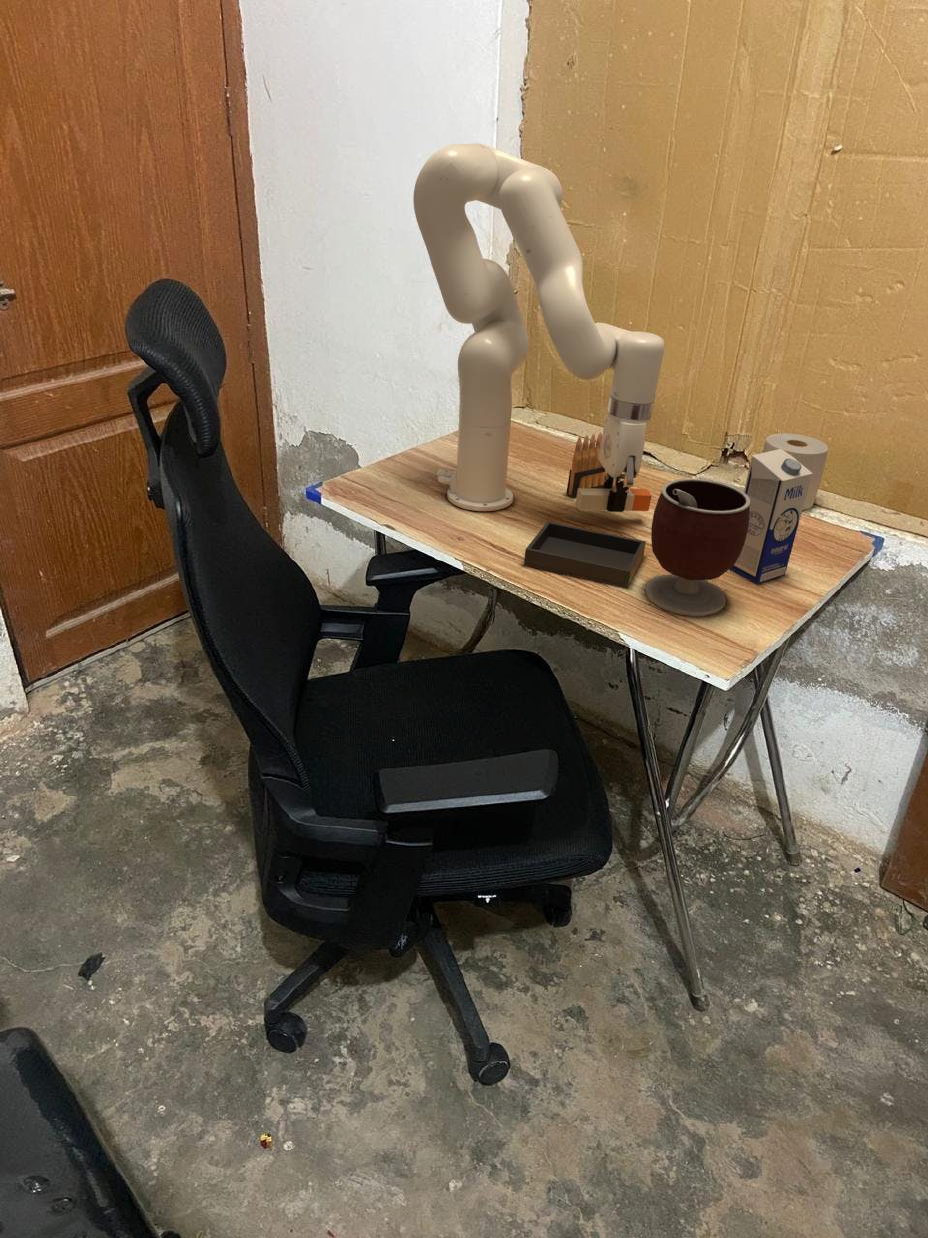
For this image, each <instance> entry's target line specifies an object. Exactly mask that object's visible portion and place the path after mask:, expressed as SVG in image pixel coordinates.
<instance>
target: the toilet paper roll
mask: <svg viewBox="0 0 928 1238" xmlns="http://www.w3.org/2000/svg"><path fill="white" fill-rule="evenodd" d="M778 449H782V450H783V451H785V452H786V453H788V454H790V455H791V456H792V457H794V458H795V459H796V460H797V461H798V462H800V463H801V464H802V465H803V466H804V467H806V468H807V469H808V470H809V471H810V472H812V473H813V474H812V476H811V480H810V483H809V487H808V491H807V495H806V498H805V502H804V506H803V510H802V511H805V510H809V509H810V508H812V507H813V506H814V503H815V500H816V497H817V495H818V491H819V488H820V485H821V482H822V478H823V474H824V469H825V466H826V462H827V457H828V453H829V446H828V445H827V444H826V442H824V441H822V440H819V439H817V438H814V437H811V436H807V435H802V434H797V433H795V434H794V433H785V432H784V433H773V434H770V435H768V436H767V437H766V438H765V441H764V445H763V448H762V451H761V453H765V452H769V451H774V450H778Z"/></svg>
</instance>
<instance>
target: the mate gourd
mask: <svg viewBox="0 0 928 1238" xmlns="http://www.w3.org/2000/svg"><path fill="white" fill-rule="evenodd" d="M749 505H750V498H749V497H748V496H747V494H745V493H744V490H741V489H739V488H737V487H735V486H733V485H730V484H727V483H723V482H720V481H715V480H709V479H704V478H703V479H702V478H680V479H674V480H670V481H669V482H666V483H665V484H664V485H662V487H661V491H660V494H659V497H658V498H657V502H656V505H655V508H654V511H653V515H652V521H651V529H650V530H651V533H650V534H651V535H650V536H651V537H650V538H651V539H650V540H651V549H652V553H653V555H654V556H655V558H656V560H657V562H658V563H659V565H660V567H661V568H662V569H663V570H665V572H667V573H669V574H662V575H659V576H655V577H653V578H652V579H650V580H649V581H648V582H647V584H646V588H645V595H646V597H647V598H648V600H649V601H650V602H651V603H653V604H654V605H655V606H657V607H659V608H660V609H662V610H665V611H667V612H669V613H673V614H678V615H682V616H691V617H704V616H711V615H714V614H716V613H718V612H721V611H722V610H723V608H724V607H725V605H726V600H727V598H726V594H725V593H724V591H723V590H722V589H721V588H720V587H719V586H717V585H715V584H714V583H712V582H710V580H715V579H717V578H720V577H721V576H723V575H724V574H725V573H727V572H728V571H729V570H730V568H732V567H733V566H734V564H735V563H736V561H737V559H738V557H739V556H740V553H741V551H742V548H743V546H744V544H745V540H746V536H747V531H748V526H749V514H750V506H749Z"/></svg>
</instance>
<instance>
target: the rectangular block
mask: <svg viewBox="0 0 928 1238" xmlns="http://www.w3.org/2000/svg"><path fill="white" fill-rule="evenodd" d="M610 490H612V489H595V488H578V491H577V497H575V498H576V499H575V505H576V506H577V508H578V510H579V511H607V503H608V498H609V492H610ZM652 497H653V495H652V494H651V493H650V492H649V490H648V489H647V488H629V492H628V493H627V499H626V504H625V509H624V511H623V512H649V510H650V506H651V502H652Z"/></svg>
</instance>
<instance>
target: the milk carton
mask: <svg viewBox="0 0 928 1238" xmlns="http://www.w3.org/2000/svg"><path fill="white" fill-rule="evenodd" d="M747 471H748V472H747V476H746V480H745V485H744V490H743V492H744V493H745V494H747V496H748V497H749V498H750V505H749V506H750V514H749V526H748V531H747V536H746V540H745V544H744V546H743V548H742V551H741V553H740V556H739V557H738V559H737V561H736V563H735V564H734V566H733V567H732V568H730V569H729V570H730V571H731V572H734V573H736V574H738V575H739V576H741V577H743V578H744V579H746V580H748V581H750V582H752V583H754V584H756V585H759V584H762V583H766V582H769V581H772V580H776V579H778V578H781V577H784V576H786V573H787V568H788V565H789V562H790V558H791V554H792V549H793V546H794V542H795V539H796V537H797V536H796V535H797V531H798V528H799V523H800V521H801V516H802V513H803V511H804V510H803V506H804V502H805V498H806V495H807V491H808V487H809V483H810V480H811V476H812V474H813V473H812V472H810V471H809V470H808V469H807V468H806V467H804V466H803V465H802V464H801V463H800V462H798V461H797V460H796V459H795V458H794V457H792V456H791V455H790V454H788V453H786V452H785V451H783V450H782V449H778V450H774V451H769V452H765V453H762V452H760V453H756V454H751V459H750V463H749V468H748V470H747Z"/></svg>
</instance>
